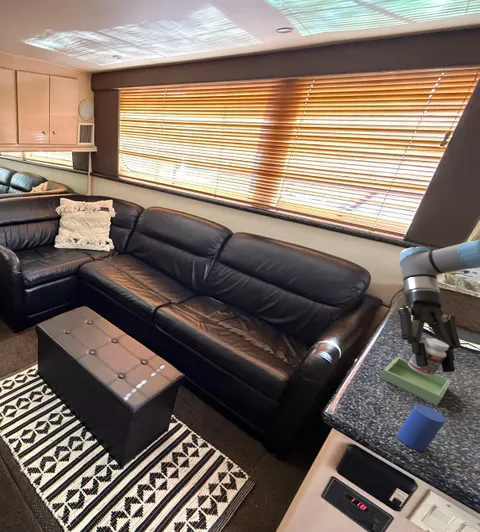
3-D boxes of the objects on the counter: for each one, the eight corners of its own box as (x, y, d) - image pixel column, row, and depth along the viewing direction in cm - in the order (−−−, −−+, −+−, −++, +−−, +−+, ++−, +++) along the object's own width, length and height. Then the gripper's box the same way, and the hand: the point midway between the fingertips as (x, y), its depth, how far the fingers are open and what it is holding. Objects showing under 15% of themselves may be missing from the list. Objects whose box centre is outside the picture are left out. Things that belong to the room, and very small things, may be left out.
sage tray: (446, 388, 96) (451, 380, 95) (436, 405, 88) (442, 397, 87) (392, 363, 106) (397, 356, 104) (379, 377, 97) (383, 369, 96)
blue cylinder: (427, 445, 75) (447, 416, 71) (422, 454, 72) (443, 425, 69) (399, 429, 78) (417, 401, 75) (394, 438, 76) (412, 409, 72)
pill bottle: (423, 376, 92) (441, 348, 88) (402, 363, 97) (418, 336, 93) (438, 375, 93) (457, 348, 89) (417, 363, 98) (433, 336, 95)
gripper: (445, 303, 101) (461, 378, 92) (378, 292, 105) (387, 362, 96) (469, 295, 94) (489, 375, 85) (397, 283, 98) (408, 358, 89)
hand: (435, 368), depth 91 cm, fingers closed on pill bottle, 6 cm apart
